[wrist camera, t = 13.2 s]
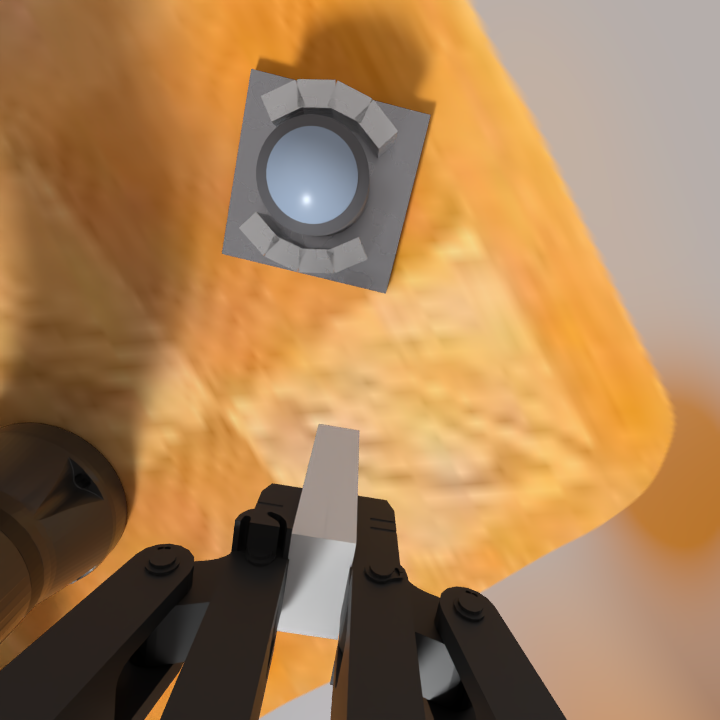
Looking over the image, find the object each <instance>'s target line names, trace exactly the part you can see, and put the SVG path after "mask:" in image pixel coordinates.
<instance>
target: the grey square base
mask: <svg viewBox="0 0 720 720" xmlns="http://www.w3.org/2000/svg"><path fill="white" fill-rule="evenodd" d="M307 114H316V115H322V116H326V117H329V118H332V119H334V120H336V121H338V122H340V123H342V124H343V125H344V126H346V127H347V128H348V129H349V130H350V131H351V132H352V133H353V134H354V135H355V136H356V137H357V139H358V140H359V142H360V144H361V145H362V147H363V149H364V151H365V154H366V157H367V161H368V166H369V179H370V190H369V198H368V201H367V205H366V207H365V209H364V211H363V213H362V215H361V216H360V218H359V219H358V220H357V221H356V222H355V223H354V224H353V225H352V226H351V227H349V228H348V229H346V230H345V231H343V232H340V233H338V234H335V235H330V236H313V235H304V234H300V233H297V232H294V231H292V230H289V229H287V228H286V227H284V226H283V225H281V224H280V223H279V222H278V221H276V220H275V219H274V218H273V217H272V215H271V214H270V213H269V212H268V210H267V209H266V207H265V205H264V204H263V202H262V200H261V197H260V195H259V191H258V187H257V181H256V166H257V160H258V156H259V153H260V150H261V148H262V146H263V144H264V142H265V140H266V139H267V137H268V136H269V135H270V133H271V132H272V131H273V130H274V129H275V128H276V127H278V126H279V125H280V124H282V123H283V122H285V121H287V120H289V119H291V118H293V117H296V116H300V115H307ZM430 116H431V115H429V114H425V113H421V112H417V111H413V110H409V109H405V108H402V107H398V106H394V105H390V104H386V103H382V102H378V101H374V100H372V98H370V97H368V96H367V95H365V94H363V93H361V92H359V91H357V90H355V89H353V88H351V87H349V86H347V85H345V84H343V83H342V82H340V81H337V83H336V80H317V79H297V80H293V79H289V78H285V77H281V76H277V75H273V74H270V73H266V72H262V71H258V70H254V69H251V74H250V80H249V87H248V93H247V99H246V105H245V112H244V118H243V124H242V130H241V137H240V143H239V149H238V156H237V162H236V168H235V174H234V181H233V187H232V193H231V199H230V206H229V212H228V218H227V225H226V231H225V237H224V243H223V250H222V254H225V255H229V256H233V257H238V258H242V259H246V260H250V261H254V262H258V263H262V264H266V265H270V266H275V267H279V268H283V269H287V270H291V271H295V272H299V273H303V274H307V275H312V276H316V277H320V278H324V279H328V280H332V281H336V282H340V283H345V284H349V285H353V286H357V287H361V288H365V289H369V290H373V291H377V292H382V293H386V290H387V286H388V282H389V278H390V275H391V271H392V267H393V263H394V259H395V255H396V251H397V247H398V243H399V239H400V235H401V231H402V227H403V223H404V219H405V215H406V211H407V207H408V203H409V199H410V195H411V191H412V187H413V183H414V179H415V175H416V171H417V167H418V163H419V159H420V155H421V151H422V147H423V143H424V140H425V136H426V132H427V128H428V124H429V120H430Z"/></svg>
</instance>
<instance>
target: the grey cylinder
mask: <svg viewBox="0 0 720 720" xmlns="http://www.w3.org/2000/svg"><path fill="white" fill-rule="evenodd" d="M256 181H257V187H258V191H259V195H260V197H261V200H262V202H263V204H264V205H265V207H266V209H267V210H268V212H269V213H270V214H271V215H272V217H273V218H274V219H275V220H276V221H278V222H279V223H280V224H281V225H283V226H284V227H286V228H287V229H289V230H292V231H294V232H297V233H300V234H304V235H313V236H330V235H335V234H338V233H340V232H343V231H345V230H346V229H348V228H349V227H351V226H352V225H353V224H354V223H355V222H356V221H357V220H358V219H359V218H360V216H361V215H362V213H363V211H364V209H365V207H366V205H367V201H368V198H369V190H370V179H369V166H368V161H367V157H366V154H365V151H364V149H363V147H362V145H361V144H360V142H359V140H358V139H357V137H356V136H355V135H354V134H353V133H352V132H351V131H350V130H349V129H348V128H347V127H346V126H344V125H343V124H342V123H340V122H338V121H336V120H334V119H332V118H329V117H326V116H322V115H316V114H307V115H300V116H296V117H293V118H291V119H289V120H287V121H285V122H283V123H282V124H280V125H279V126H278V127H276V128H275V129H274V130H273V131H272V132H271V133H270V135H269V136H268V137H267V139H266V140H265V142H264V144H263V146H262V148H261V150H260V153H259V156H258V160H257V166H256Z"/></svg>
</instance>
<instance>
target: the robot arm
mask: <svg viewBox="0 0 720 720" xmlns="http://www.w3.org/2000/svg"><path fill="white" fill-rule="evenodd" d="M358 462H359V430H353V429H347V428H341V427H335V426H329V425H323V424H319V425H318V429H317V433H316V437H315V441H314V445H313V449H312V453H311V457H310V461H309V465H308V469H307V473H306V477H305V481H304V485H303V488H298V487H292V486H285V485H279V484H273V483H272V484H271V485H269V486H268V487H267V488H265V489H264V490H263V491H262V492H261V495H260V497H259V499H258V503H257V504H256V507H255V509H250V510H247V511H245V512H243V513H241V514H240V515H239V516H238V517H237V518H236V520H235V526H234V534H233V543H232V551H231V553H230V554H229V555H227V556H225V557H222V558H219V559H214V560H208V561H195V562H194V556H193V555H192V554H191V552H190V551H189V550H188V549H186V548H184V547H182V546H179V545H174V544H160V545H155V546H152V547H148V548H145V549H144V550H142V551H141V552H139V553H137V554H136V555H135V556H134V557H132V558H131V559H130V560H129V561H128V562H127V563H125V564H124V565H123V566H122V567H121V568H120V569H118V570H117V571H116V572H115V573H114V574H113V575H111V576H110V577H109V578H108V579H107V580H106V581H104V582H103V583H102V584H101V585H100V586H99V587H97V588H96V589H95V590H94V591H93V592H92V593H90V594H89V595H88V596H87V597H86V598H85V599H83V600H82V601H81V602H80V603H79V604H78V605H76V606H75V607H74V608H73V609H72V610H71V611H69V612H68V613H67V614H66V615H65V616H64V617H63V618H61V619H60V620H59V621H58V622H57V623H56V624H54V625H53V626H52V627H51V628H50V629H49V630H47V631H46V632H45V633H44V634H43V635H42V636H40V637H39V638H38V639H37V640H36V641H35V642H33V643H32V644H31V645H30V646H29V647H28V648H26V649H25V650H24V651H23V652H22V653H21V654H19V655H18V656H17V657H16V658H15V659H14V660H12V661H11V662H10V663H9V664H8V665H7V666H5V667H4V668H3V669H2V670H1V671H0V720H144V719H145V718H146V716H147V715H148V714H149V712H150V711H151V710H152V708H153V707H154V705H155V704H156V703H157V701H158V700H159V699H160V697H161V696H162V694H163V693H164V692H165V690H166V689H167V688H168V686H169V685H170V683H171V682H172V681H173V679H174V678H175V677H176V675H177V674H178V672H179V671H180V669H181V667H182V665H183V667H182V669H181V671H180V674H179V676H178V678H177V681H176V683H175V685H174V688H173V690H172V693H171V695H170V697H169V700H168V702H167V704H166V707H165V709H164V711H163V714H162V716H161V719H160V720H259V715H260V711H261V706H262V701H263V697H264V692H265V688H266V683H267V679H268V674H269V669H270V665H271V660H272V656H273V651H274V645H275V639H276V632H277V631H282V632H289V633H295V634H302V635H309V636H316V637H322V638H329V639H336V640H338V635H339V641H338V646H337V651H336V656H335V661H334V667H333V672H332V677H331V682H330V685H333V694H332V707H331V720H566V718H565V716H564V715H563V713H562V711H561V710H560V708H559V707H558V705H557V704H556V702H555V701H554V699H553V697H552V696H551V694H550V693H549V691H548V689H547V688H546V686H545V685H544V683H543V682H542V680H541V678H540V677H539V675H538V674H537V672H536V671H535V669H534V667H533V666H532V664H531V663H530V661H529V660H528V658H527V657H526V655H525V653H524V652H523V650H522V649H521V647H520V645H519V644H518V642H517V641H516V639H515V638H514V636H513V635H512V633H511V632H510V630H509V628H508V627H507V625H506V623H505V622H504V620H503V619H502V617H501V616H500V614H499V613H498V611H497V609H496V608H495V606H494V605H493V604H492V603H491V602H490V601H489V600H488V599H487V598H486V597H484V596H483V595H482V594H480V593H479V592H476V591H474V590H471V589H469V588H464V587H452V588H447V589H446V590H445V591H444V592H442V593H441V597H440V598H439V597H437V596H434V595H432V594H429V593H427V592H425V591H423V590H421V589H419V588H417V587H416V586H414V585H413V584H411V583H410V582H409V581H408V577H407V574H406V571H405V569H404V568H403V567H402V566H401V565H400V560H399V550H398V541H397V533H396V524H395V514H394V510H393V509H392V507H391V506H390V504H389V503H388V502H387V500H381V499H375V498H369V497H362V496H358ZM126 516H127V505H126V498H125V494H124V490H123V487H122V484H121V482H120V480H119V478H118V476H117V474H116V472H115V471H114V469H113V468H112V466H111V465H110V463H109V462H108V461H107V460H106V459H105V457H104V456H103V455H102V454H101V453H100V452H99V451H98V450H97V449H95V448H94V447H93V446H92V445H90V444H89V443H88V442H86V441H85V440H83V439H82V438H80V437H78V436H77V435H75V434H73V433H71V432H68V431H66V430H63V429H61V428H58V427H54V426H50V425H46V424H39V423H18V424H12V425H8V426H4V427H1V428H0V644H1V643H2V642H3V641H4V639H5V638H6V637H7V636H8V635H9V634H10V633H11V632H12V630H13V629H14V628H15V627H16V626H17V625H18V624H19V622H20V621H21V620H22V619H23V618H24V617H25V616H26V615H27V614H28V613H29V612H30V611H31V610H32V608H33V607H34V606H35V605H37V604H39V603H40V602H42V601H43V600H45V599H47V598H48V597H50V596H52V595H53V594H55V593H56V592H58V591H60V590H61V589H63V588H64V587H66V586H68V585H69V584H72V583H74V582H76V581H78V580H80V579H81V578H83V577H85V576H87V575H88V574H89V573H91V572H92V571H93V570H94V569H96V568H97V567H98V566H99V565H100V564H101V563H102V561H103V560H104V559H105V558H106V557H107V556H108V554H109V553H110V552H111V551H112V550H113V548H114V547H115V546H116V544H117V543H118V541H119V540H120V538H121V536H122V533H123V531H124V527H125V523H126ZM183 663H184V664H183Z"/></svg>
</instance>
